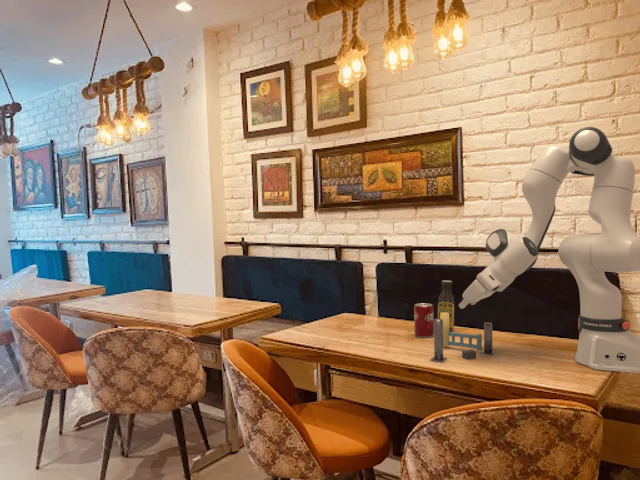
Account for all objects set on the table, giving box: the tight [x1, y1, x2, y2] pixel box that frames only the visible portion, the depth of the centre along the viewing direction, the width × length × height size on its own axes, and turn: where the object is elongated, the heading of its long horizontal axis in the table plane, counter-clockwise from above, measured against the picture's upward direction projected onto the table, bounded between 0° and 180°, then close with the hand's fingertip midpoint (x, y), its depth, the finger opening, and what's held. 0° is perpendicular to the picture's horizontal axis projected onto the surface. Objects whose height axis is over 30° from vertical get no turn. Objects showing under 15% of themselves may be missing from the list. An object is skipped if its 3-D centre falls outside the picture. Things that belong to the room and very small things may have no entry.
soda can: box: [413, 302, 435, 339], centre depth 196 cm, size 7×7×12 cm
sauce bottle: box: [437, 280, 455, 332], centre depth 203 cm, size 7×6×20 cm
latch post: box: [430, 318, 448, 363], centre depth 164 cm, size 4×4×13 cm
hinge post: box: [480, 321, 497, 356], centre depth 170 cm, size 4×4×10 cm
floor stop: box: [461, 349, 477, 361], centre depth 165 cm, size 4×2×2 cm, turn 110°
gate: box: [440, 312, 483, 352], centre depth 175 cm, size 14×3×11 cm, turn 55°
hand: (465, 305), depth 174 cm, fingers open, 8 cm apart
